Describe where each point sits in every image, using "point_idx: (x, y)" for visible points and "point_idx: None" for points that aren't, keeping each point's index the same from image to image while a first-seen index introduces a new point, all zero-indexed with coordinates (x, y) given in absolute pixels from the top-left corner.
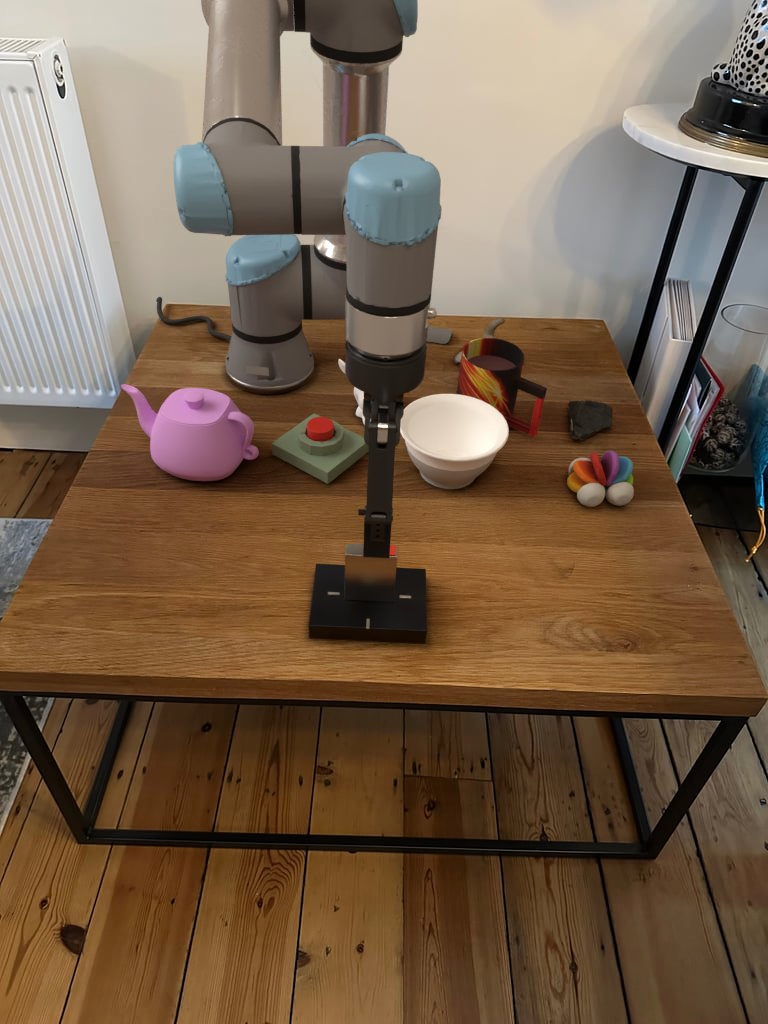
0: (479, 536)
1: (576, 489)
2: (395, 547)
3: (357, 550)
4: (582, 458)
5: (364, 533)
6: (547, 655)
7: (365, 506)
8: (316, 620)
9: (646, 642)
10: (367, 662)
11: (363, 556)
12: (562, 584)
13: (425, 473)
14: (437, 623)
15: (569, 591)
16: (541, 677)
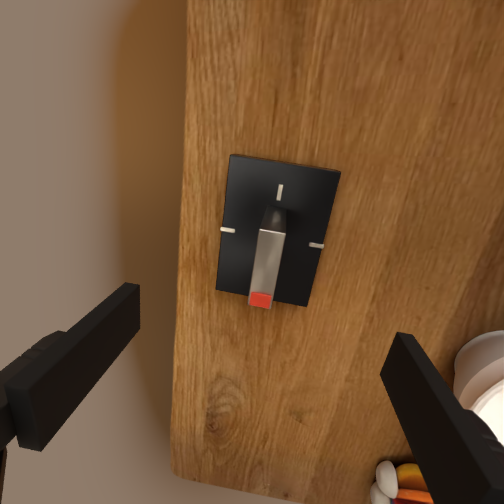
0: (363, 363)
1: (400, 471)
2: (264, 307)
3: (266, 250)
4: None
5: (78, 322)
6: (203, 373)
7: (25, 389)
8: (236, 165)
9: (214, 438)
10: (199, 218)
11: (125, 283)
12: (282, 409)
13: (486, 345)
14: (245, 296)
15: (273, 411)
16: (181, 362)
